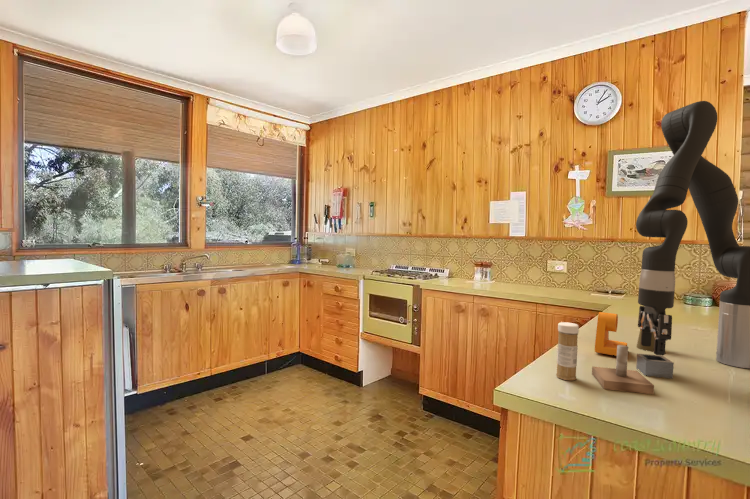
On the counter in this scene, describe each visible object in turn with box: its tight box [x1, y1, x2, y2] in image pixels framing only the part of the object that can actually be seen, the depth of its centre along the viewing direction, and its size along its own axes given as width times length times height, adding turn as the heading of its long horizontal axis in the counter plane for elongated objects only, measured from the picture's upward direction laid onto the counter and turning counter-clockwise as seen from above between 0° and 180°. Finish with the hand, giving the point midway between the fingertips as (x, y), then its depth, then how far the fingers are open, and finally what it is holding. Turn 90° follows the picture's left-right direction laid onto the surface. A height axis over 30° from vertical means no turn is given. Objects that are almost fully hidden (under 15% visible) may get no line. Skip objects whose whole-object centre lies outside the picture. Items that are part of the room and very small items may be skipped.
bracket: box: [594, 311, 628, 357], centre depth 120 cm, size 11×7×12 cm, turn 142°
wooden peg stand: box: [591, 345, 655, 395], centre depth 95 cm, size 10×10×9 cm
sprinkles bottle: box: [555, 321, 580, 381], centre depth 98 cm, size 5×5×14 cm
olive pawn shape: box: [636, 329, 655, 352], centre depth 126 cm, size 6×6×11 cm
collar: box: [635, 353, 674, 380], centre depth 103 cm, size 6×6×4 cm
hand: (652, 350), depth 103 cm, fingers open, 8 cm apart
